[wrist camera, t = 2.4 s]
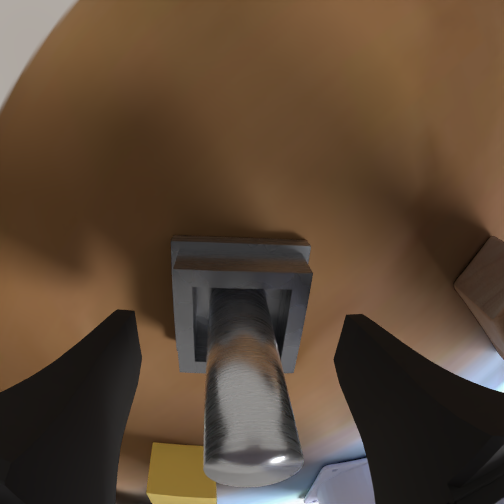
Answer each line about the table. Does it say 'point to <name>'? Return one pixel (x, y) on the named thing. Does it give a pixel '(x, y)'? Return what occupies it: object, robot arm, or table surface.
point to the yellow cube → (179, 476)
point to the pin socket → (238, 276)
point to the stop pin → (246, 395)
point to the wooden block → (486, 290)
